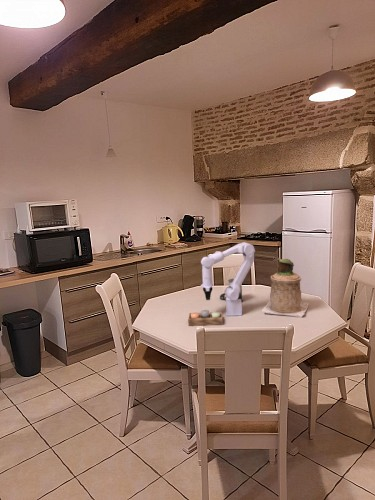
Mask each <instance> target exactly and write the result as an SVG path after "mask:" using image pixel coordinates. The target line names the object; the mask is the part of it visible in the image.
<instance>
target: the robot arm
mask: <svg viewBox="0 0 375 500" xmlns="http://www.w3.org/2000/svg"><path fill="white" fill-rule="evenodd" d="M255 252H256V249H255V246H254V245H253V244H252V243H248V242H246V241H243V242H241V243H237V244H235V245H234V246H232V247H230V248H228V249H226V250H224V251H220V250H219V251H215V252H214V253H212V254H208V255H207V256H203V257H202V259H201V260H200V264H201V267H202V269H201V277H202V284H200V287H202V291H203V293H204V295H205V300H206V301H210V300H211V295H212V292H213V265H215V264H218V263H220V262H222V261H224V259H225V257H229V256H231V255H234V254H237V253H239V254H242V256H243V259H244V260H243V262H242V264H241V266H240V268H239V269H238V270H237V271H238V272H237V273H236V275H235V277H234V278H233V279H234V280H233V282H232V283H231V284H230V285H229V284H228V286H227V287H226V288H225V289H224V293H225V296H226V297H225V298H226V300H225V308H226V309H225V316H232V317H233V316H243V305H242V304H243V303H242V302H241V299H238V297H239V292H240V286H241V284H243V282H244V280H245V278H246V277H247V275H248V273H249V271H250V269H251V268H252V266H253V264H254V262H255Z"/></svg>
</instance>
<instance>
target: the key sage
mask: <svg viewBox="0 0 375 500" xmlns="http://www.w3.org/2000/svg"><path fill="white" fill-rule="evenodd" d="M212 312H213V311H212ZM219 312H220V311H214V312H213V313H212V318H214V317H220V313H219Z"/></svg>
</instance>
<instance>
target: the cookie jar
mask: <svg viewBox="0 0 375 500" xmlns="http://www.w3.org/2000/svg"><path fill="white" fill-rule="evenodd" d="M294 266H295V264H294V262H293V261H291V259H288V258H284V259H283V258H282V259H281V258H278V265H277V269H278V271H277V272H276V273H274V274H272V275H270V283H271V284H270V293H269V300H268V301H267V304H266V305H264V307H263V308H262V309H261V312H262V314H263V315H265V314H270V315H278V316H279V315H280V316H288V317H293V318H294V317H296V318H303V317H304V316H305V313H306V311H307V310H308V307H309V303H308V302H306V301H305V302H304V301H302V291H301V281H302V277H301V276H300V275H298V274H297V273H296V272H294V271H293V270H294Z"/></svg>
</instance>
